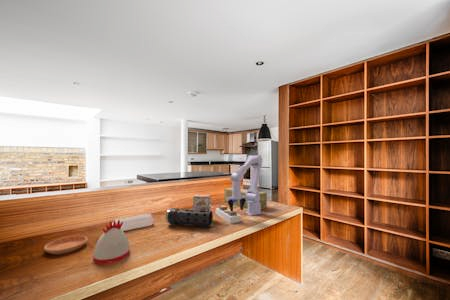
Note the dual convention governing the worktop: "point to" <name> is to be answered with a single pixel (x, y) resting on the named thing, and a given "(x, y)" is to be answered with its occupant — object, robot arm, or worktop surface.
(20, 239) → the worktop surface
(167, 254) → the worktop surface
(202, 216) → the muzzle brake
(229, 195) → the soda box
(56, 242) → the saucer
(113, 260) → the kitchen timer
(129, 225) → the crystal
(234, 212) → the button
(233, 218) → the switch strip
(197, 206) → the candy bar box
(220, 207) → the button
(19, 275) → the worktop surface
